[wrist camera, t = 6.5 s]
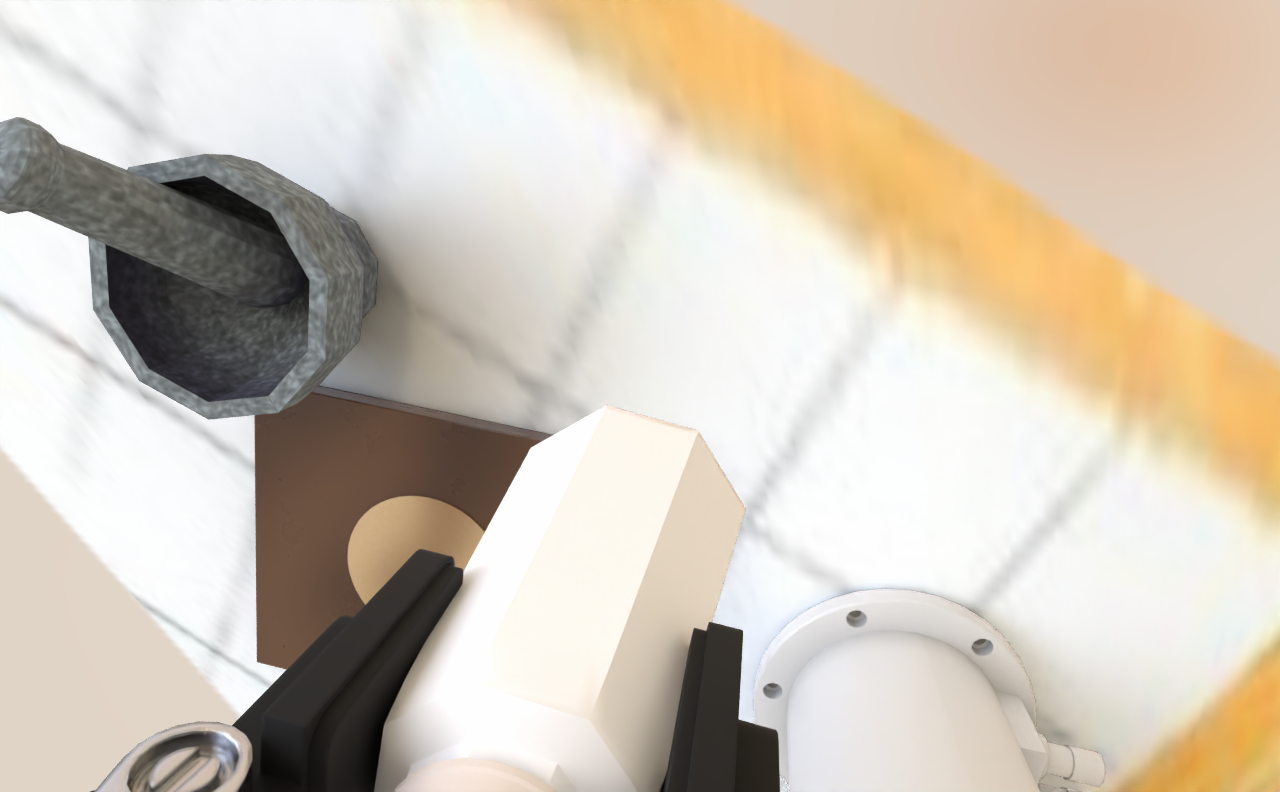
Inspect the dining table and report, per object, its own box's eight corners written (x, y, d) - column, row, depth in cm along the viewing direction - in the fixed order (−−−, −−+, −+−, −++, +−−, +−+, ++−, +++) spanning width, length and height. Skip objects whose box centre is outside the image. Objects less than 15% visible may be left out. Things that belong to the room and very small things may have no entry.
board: (633, 450, 33) (629, 460, 32) (586, 730, 38) (581, 745, 37) (267, 374, 35) (252, 380, 34) (268, 650, 40) (255, 663, 39)
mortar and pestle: (452, 325, 33) (290, 407, 22) (293, 404, 35) (73, 514, 24) (322, 84, 31) (65, 35, 19) (161, 186, 33) (-148, 195, 22)
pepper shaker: (539, 623, 18) (234, 1219, 8) (493, 416, 17) (47, 802, 6) (760, 612, 17) (751, 1287, 7) (730, 389, 16) (659, 802, 5)
